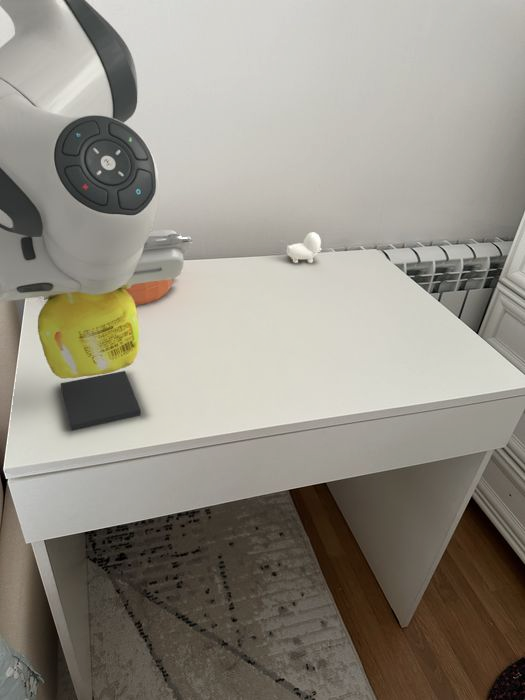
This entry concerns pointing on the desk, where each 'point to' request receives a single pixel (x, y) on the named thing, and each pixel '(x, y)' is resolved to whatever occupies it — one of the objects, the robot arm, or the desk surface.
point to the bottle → (89, 333)
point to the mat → (99, 400)
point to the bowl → (149, 291)
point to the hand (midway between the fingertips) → (86, 287)
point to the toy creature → (305, 248)
